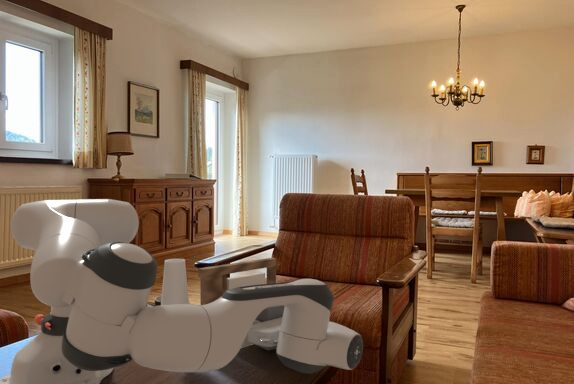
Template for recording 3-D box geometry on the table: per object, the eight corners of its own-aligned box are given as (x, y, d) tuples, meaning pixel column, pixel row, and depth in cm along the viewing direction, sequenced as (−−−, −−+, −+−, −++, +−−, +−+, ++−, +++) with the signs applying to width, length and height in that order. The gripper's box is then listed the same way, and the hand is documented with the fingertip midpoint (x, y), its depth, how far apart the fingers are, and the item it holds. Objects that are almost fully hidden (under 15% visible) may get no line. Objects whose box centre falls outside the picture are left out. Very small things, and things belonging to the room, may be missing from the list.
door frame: (202, 361, 111) (202, 269, 110) (198, 358, 112) (198, 268, 112) (276, 339, 126) (276, 258, 126) (271, 337, 128) (271, 257, 127)
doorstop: (268, 350, 114) (268, 310, 114) (253, 344, 118) (253, 305, 118) (283, 345, 117) (283, 306, 117) (268, 339, 122) (268, 301, 121)
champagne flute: (180, 351, 117) (180, 257, 116) (194, 359, 112) (194, 260, 111) (156, 358, 112) (155, 260, 112) (169, 367, 108) (168, 264, 107)
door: (231, 352, 115) (231, 280, 115) (225, 349, 117) (225, 278, 117) (268, 341, 123) (268, 273, 123) (261, 338, 125) (261, 272, 125)
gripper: (269, 358, 101) (232, 342, 111) (333, 337, 115) (295, 324, 125) (269, 329, 101) (232, 315, 111) (333, 312, 115) (295, 301, 125)
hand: (266, 320), depth 118 cm, fingers closed on doorstop, 5 cm apart
